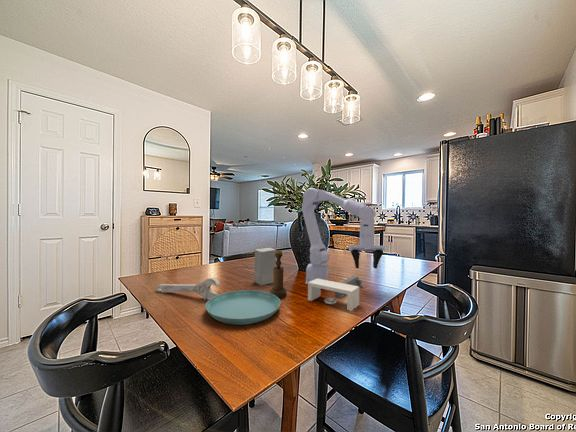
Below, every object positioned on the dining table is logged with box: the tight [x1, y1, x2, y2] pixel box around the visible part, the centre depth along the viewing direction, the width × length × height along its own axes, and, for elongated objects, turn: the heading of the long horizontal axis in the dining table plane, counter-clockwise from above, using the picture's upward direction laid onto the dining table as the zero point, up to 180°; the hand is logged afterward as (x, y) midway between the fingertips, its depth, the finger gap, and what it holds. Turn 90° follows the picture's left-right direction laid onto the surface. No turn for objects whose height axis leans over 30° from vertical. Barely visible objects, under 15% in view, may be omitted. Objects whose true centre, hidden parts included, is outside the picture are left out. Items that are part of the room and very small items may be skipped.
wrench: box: [156, 277, 221, 301], centre depth 93 cm, size 8×2×30 cm
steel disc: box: [323, 297, 337, 305], centre depth 88 cm, size 4×4×1 cm
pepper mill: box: [269, 249, 288, 300], centre depth 94 cm, size 7×6×18 cm
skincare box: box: [254, 247, 277, 286], centre depth 111 cm, size 8×7×16 cm
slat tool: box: [334, 275, 363, 299], centre depth 101 cm, size 5×20×4 cm, turn 143°
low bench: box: [307, 278, 360, 312], centre depth 88 cm, size 17×7×7 cm, turn 53°
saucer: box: [205, 289, 281, 326], centre depth 79 cm, size 24×24×3 cm
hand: (366, 267), depth 100 cm, fingers open, 7 cm apart
